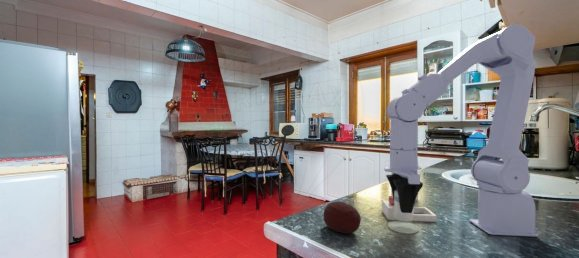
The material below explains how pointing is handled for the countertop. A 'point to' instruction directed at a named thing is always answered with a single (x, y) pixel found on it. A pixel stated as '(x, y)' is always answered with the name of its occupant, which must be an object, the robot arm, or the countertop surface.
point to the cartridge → (397, 211)
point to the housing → (425, 216)
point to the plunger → (391, 200)
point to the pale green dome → (403, 227)
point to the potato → (341, 217)
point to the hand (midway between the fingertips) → (402, 208)
